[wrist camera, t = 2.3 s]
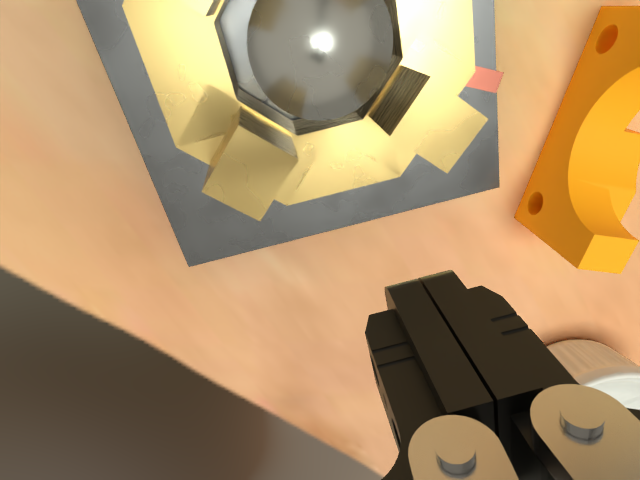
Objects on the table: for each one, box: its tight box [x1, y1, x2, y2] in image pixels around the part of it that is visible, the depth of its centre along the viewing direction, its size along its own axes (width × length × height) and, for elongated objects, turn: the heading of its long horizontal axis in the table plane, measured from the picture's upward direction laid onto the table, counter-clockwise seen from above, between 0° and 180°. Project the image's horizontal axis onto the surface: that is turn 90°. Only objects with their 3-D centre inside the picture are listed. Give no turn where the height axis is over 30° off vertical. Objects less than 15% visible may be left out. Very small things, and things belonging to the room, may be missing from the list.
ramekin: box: [546, 339, 640, 410], centre depth 34 cm, size 11×11×5 cm
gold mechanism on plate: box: [76, 0, 503, 267], centre depth 19 cm, size 20×18×8 cm
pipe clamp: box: [514, 6, 640, 274], centre depth 24 cm, size 12×4×6 cm, turn 169°
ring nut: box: [122, 0, 488, 221], centre depth 17 cm, size 13×13×7 cm
